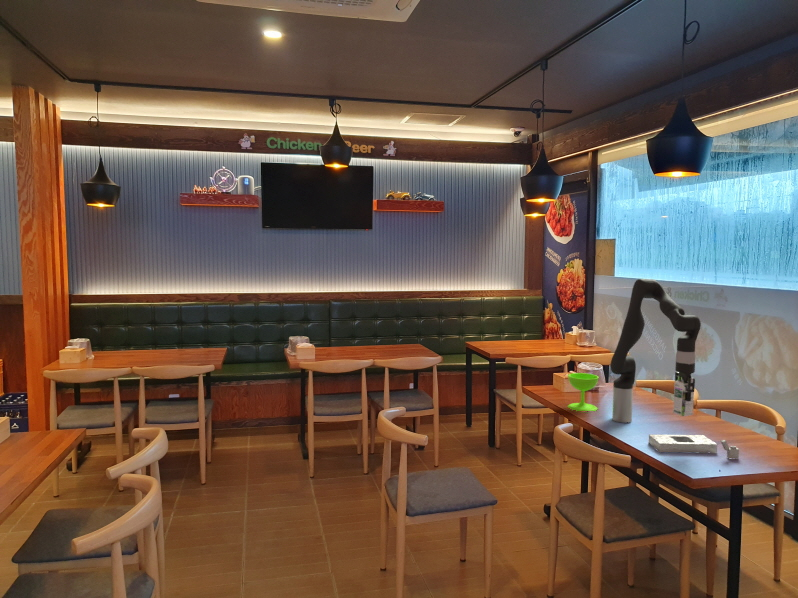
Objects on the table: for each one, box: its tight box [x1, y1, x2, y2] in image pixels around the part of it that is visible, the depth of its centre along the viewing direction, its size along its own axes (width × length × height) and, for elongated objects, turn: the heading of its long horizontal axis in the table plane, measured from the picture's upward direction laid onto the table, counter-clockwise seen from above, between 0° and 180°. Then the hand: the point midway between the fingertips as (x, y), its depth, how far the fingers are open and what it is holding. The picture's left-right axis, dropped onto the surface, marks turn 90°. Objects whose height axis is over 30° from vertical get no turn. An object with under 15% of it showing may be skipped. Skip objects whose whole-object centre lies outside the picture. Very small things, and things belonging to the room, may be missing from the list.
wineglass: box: [567, 372, 599, 412], centre depth 312 cm, size 16×16×18 cm
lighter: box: [720, 439, 740, 459], centre depth 236 cm, size 7×2×8 cm, turn 93°
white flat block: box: [648, 434, 718, 454], centre depth 249 cm, size 12×24×4 cm, turn 87°
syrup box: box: [672, 380, 695, 417], centre depth 247 cm, size 6×6×14 cm
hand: (683, 398), depth 247 cm, fingers closed on syrup box, 7 cm apart
